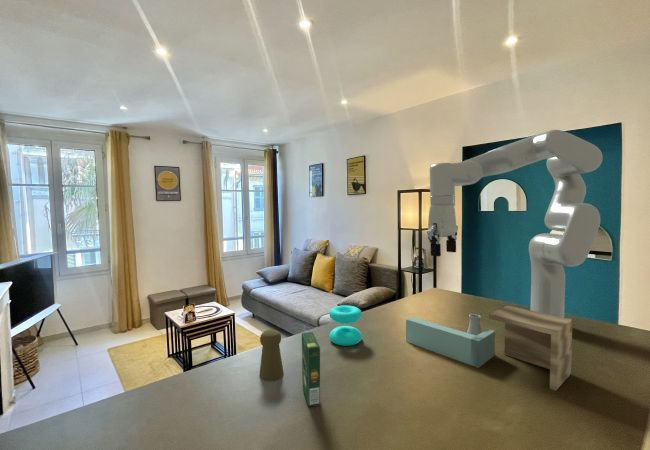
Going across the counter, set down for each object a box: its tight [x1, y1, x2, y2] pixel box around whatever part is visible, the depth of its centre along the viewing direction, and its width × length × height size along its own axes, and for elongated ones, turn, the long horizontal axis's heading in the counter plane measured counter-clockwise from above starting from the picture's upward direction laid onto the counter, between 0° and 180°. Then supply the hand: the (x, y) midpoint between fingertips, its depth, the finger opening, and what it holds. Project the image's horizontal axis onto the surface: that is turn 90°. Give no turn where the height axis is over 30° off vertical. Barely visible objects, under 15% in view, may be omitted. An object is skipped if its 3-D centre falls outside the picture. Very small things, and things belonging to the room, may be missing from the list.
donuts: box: [329, 304, 363, 347], centre depth 101 cm, size 10×10×10 cm
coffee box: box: [301, 331, 321, 408], centre depth 71 cm, size 8×3×13 cm, turn 13°
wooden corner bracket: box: [488, 304, 573, 392], centre depth 82 cm, size 11×15×14 cm
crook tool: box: [405, 316, 496, 369], centre depth 95 cm, size 10×22×7 cm, turn 41°
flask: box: [466, 313, 483, 336], centre depth 94 cm, size 7×7×10 cm
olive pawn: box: [258, 329, 284, 382], centre depth 81 cm, size 6×6×11 cm
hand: (443, 253), depth 107 cm, fingers open, 9 cm apart
